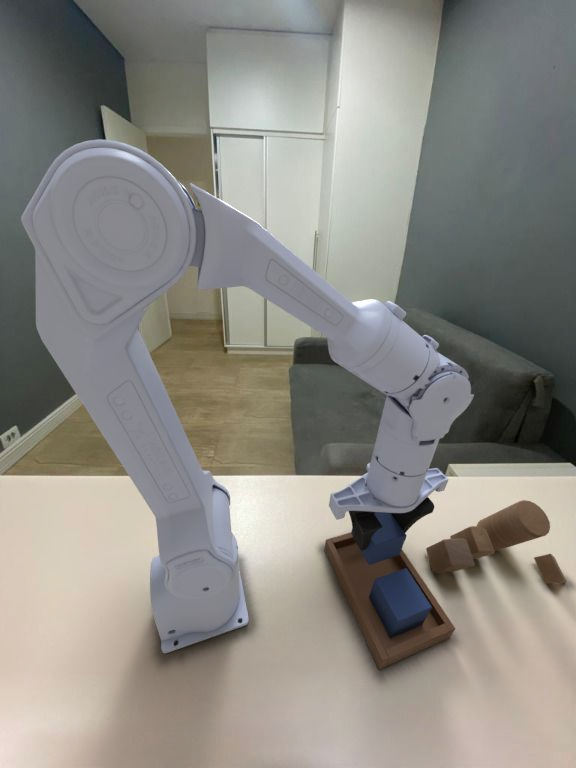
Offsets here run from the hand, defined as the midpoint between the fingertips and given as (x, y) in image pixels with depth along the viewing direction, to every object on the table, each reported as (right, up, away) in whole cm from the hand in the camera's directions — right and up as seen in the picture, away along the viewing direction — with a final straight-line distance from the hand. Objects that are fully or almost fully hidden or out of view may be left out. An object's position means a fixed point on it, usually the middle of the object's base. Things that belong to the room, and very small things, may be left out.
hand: (376, 537), depth 39 cm
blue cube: (+2, -8, -2) cm, 8 cm away
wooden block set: (+17, -6, +5) cm, 19 cm away
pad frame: (+1, -7, +1) cm, 7 cm away
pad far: (0, -1, +1) cm, 1 cm away
